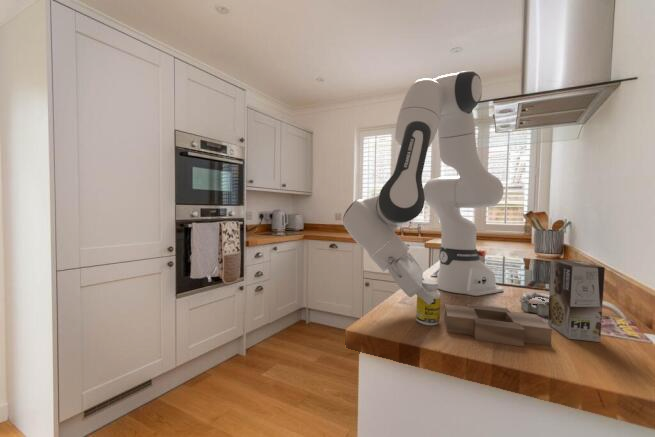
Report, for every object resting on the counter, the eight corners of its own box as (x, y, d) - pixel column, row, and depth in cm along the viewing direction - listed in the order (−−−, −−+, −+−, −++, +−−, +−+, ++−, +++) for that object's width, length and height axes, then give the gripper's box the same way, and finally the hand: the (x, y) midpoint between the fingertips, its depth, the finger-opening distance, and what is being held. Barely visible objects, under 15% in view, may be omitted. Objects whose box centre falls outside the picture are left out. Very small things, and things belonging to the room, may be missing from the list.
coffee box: (602, 342, 65) (606, 267, 64) (567, 339, 66) (571, 265, 65) (576, 326, 74) (580, 260, 73) (546, 323, 75) (550, 258, 74)
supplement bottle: (423, 326, 71) (425, 285, 70) (411, 318, 76) (413, 279, 76) (444, 325, 72) (445, 284, 72) (431, 317, 77) (432, 278, 77)
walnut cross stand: (443, 314, 80) (444, 301, 79) (532, 325, 73) (533, 311, 73) (447, 335, 66) (447, 319, 66) (555, 351, 60) (556, 333, 60)
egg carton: (546, 318, 79) (547, 302, 79) (515, 309, 86) (516, 295, 86) (563, 311, 85) (564, 297, 85) (534, 303, 91) (534, 290, 91)
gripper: (397, 252, 66) (443, 302, 63) (403, 242, 85) (439, 280, 82) (375, 271, 67) (420, 320, 65) (387, 257, 87) (421, 294, 84)
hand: (431, 298), depth 74 cm, fingers closed on supplement bottle, 5 cm apart
